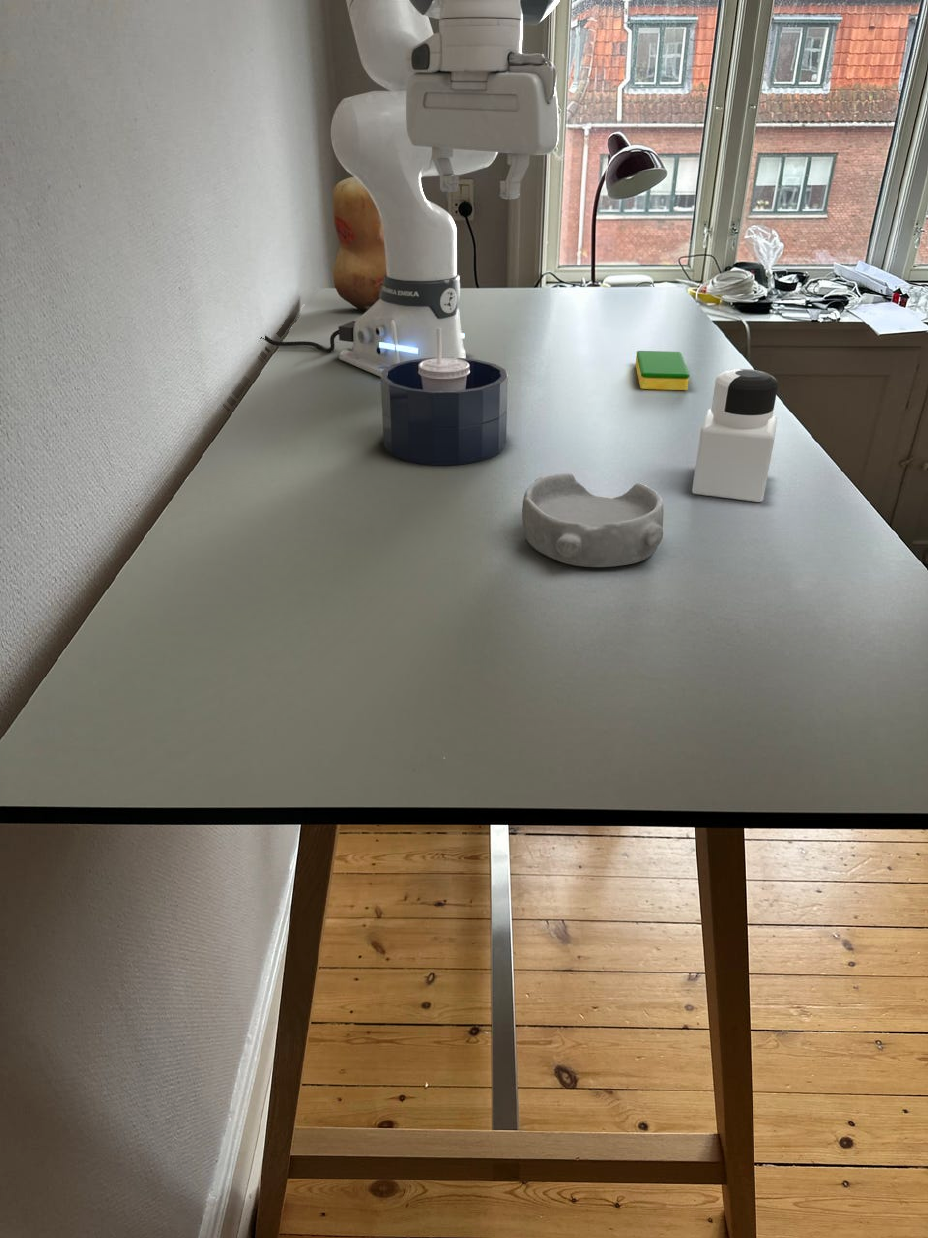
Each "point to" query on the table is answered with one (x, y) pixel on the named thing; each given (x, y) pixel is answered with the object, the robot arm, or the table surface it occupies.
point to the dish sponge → (661, 370)
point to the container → (737, 437)
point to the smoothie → (443, 372)
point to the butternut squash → (358, 245)
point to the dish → (591, 522)
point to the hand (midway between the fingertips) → (478, 194)
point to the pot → (444, 415)
